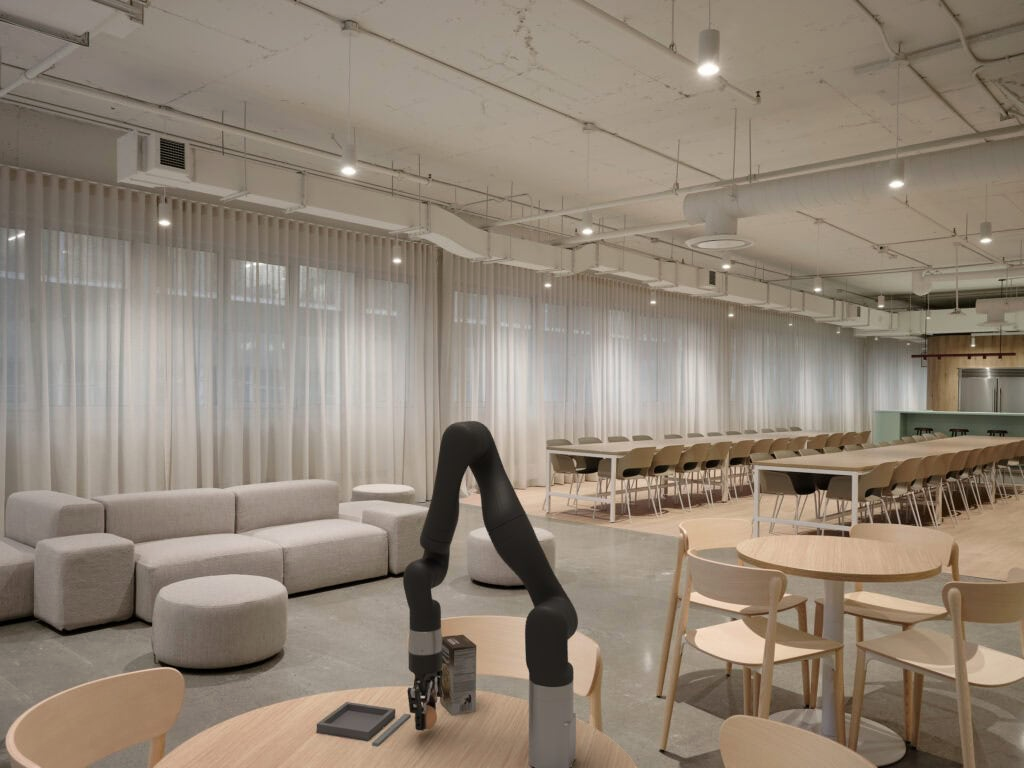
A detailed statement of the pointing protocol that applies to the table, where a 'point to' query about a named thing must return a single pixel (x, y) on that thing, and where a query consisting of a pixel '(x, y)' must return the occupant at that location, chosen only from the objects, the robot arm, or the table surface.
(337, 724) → the tray
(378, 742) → the distance line
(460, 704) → the coffee box
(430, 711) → the ball
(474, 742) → the table surface
